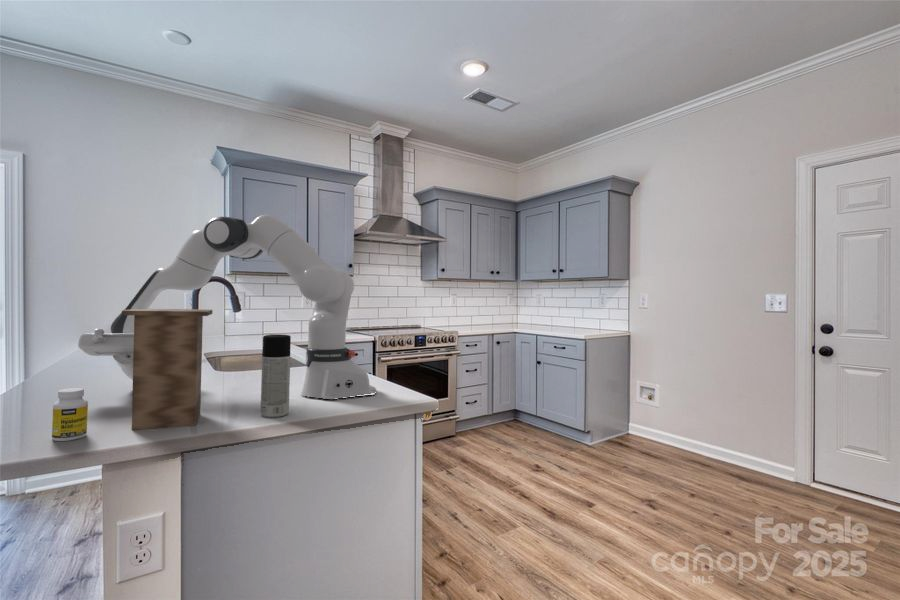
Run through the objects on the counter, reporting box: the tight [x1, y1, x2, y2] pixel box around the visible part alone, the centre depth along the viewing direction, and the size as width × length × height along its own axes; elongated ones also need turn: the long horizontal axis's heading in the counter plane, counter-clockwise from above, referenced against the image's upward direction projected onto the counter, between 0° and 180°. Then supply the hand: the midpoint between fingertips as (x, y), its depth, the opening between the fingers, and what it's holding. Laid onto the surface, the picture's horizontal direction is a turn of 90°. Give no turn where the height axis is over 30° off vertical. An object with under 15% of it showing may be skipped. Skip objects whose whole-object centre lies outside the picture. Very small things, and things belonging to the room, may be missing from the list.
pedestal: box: [121, 308, 213, 431], centre depth 101 cm, size 16×11×26 cm
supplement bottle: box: [51, 387, 89, 442], centre depth 89 cm, size 5×5×10 cm
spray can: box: [260, 334, 292, 419], centre depth 110 cm, size 7×7×20 cm
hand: (120, 331), depth 113 cm, fingers open, 8 cm apart
